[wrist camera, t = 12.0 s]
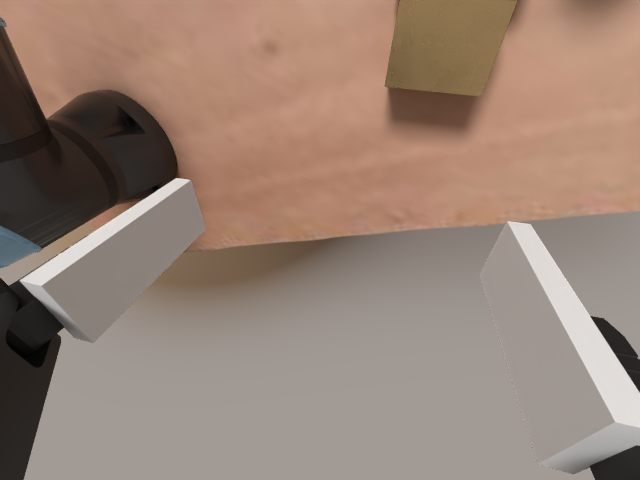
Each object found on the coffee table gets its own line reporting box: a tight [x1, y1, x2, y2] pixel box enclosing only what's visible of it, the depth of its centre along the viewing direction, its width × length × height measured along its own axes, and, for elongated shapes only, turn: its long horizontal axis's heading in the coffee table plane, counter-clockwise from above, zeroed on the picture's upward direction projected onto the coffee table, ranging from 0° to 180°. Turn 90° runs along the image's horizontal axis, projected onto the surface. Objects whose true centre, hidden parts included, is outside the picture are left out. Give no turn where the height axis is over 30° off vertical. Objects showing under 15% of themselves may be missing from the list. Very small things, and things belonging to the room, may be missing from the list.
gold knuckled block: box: [385, 0, 517, 96], centre depth 22 cm, size 10×8×4 cm
